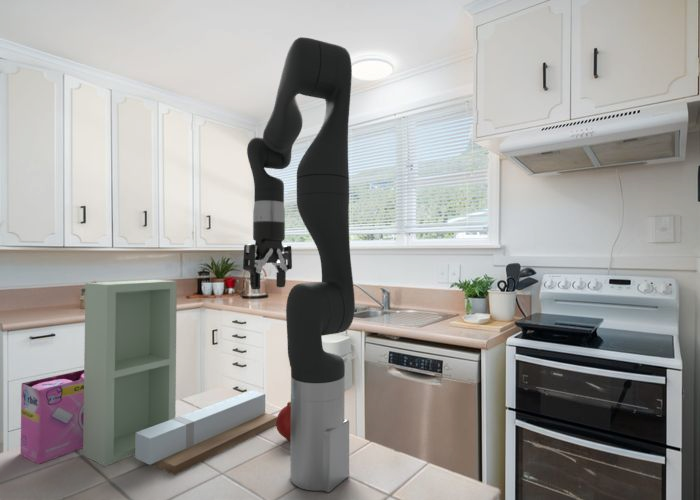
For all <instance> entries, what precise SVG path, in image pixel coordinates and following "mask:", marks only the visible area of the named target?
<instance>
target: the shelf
mask: <svg viewBox="0 0 700 500" xmlns="http://www.w3.org/2000/svg"><path fill="white" fill-rule="evenodd" d="M84 285H85V289H84V290H85V293H84V353H83V354H84V357H83V358H84V359H83V360H84V365H83V366H84V367H83V368H84V369H83V370H84V419H83V448H82V455H83V456H85V457H87V458H89V459H90V460H91V461H93V462H94V461H95V462H96V463H98V464H99V465H102V467H107V466H109V465H113V464H114V463H117V462H119V461H122V460H124V459H126V458H129V457H131V456H135V435H136V432H138V431H141V430H144V429H147V428H149V427H152V426H155V425H158V424H160V423H163V422H166V421H169V420H171V419H173V418H176V406H177V405H176V396H177V395H176V394H177V393H176V390H177V386H176V385H177V383H176V382H177V307H178V306H177V304H178V303H177V301H178V300H177V299H178V297H177V296H178V281H177V280H164V279H163V280H160V279H149V280H147V279H145V280H143V279H141V280H124V281H123V280H122V281H103V282H85V284H84Z"/></svg>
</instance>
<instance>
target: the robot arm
mask: <svg viewBox="0 0 700 500" xmlns="http://www.w3.org/2000/svg"><path fill="white" fill-rule="evenodd" d="M352 67H353V66H352V59H351V56H350V53H349V51H348V50H347V49H346V48H345V47H343V46H341V45H338V44H334V43H331V42H326V41H322V40H319V39H314V38H309V37H302V36H300V37H298V38H296V39H295V40H294V41H293V42H292V44H291V45H290V47H289V49H288V51H287V54H286V57H285V61H284V65H283V68H282V71H281V76H280V79H279V80H280V81H279V85H278V88H277V92H276V97H275V101H274V106H273V109H272V112H271V114H270V117H269V118H268V121H267V123H266V125H265V128H264V130H263V134H262V137H260V136H257V137H255V136H254V137H253V138H251V139H250V140H249V142H248V144H247V148H246V155H247V159H248V164H249V167H250V169H251V173H252V174H251V175H252V178H253V187H254V204H253V211H252V212H253V217H252V219H253V220H252V221H253V222H252V227H253V229H252V231H253V232H252V239H253V240H254V241H255V244H254V243H253V244H252V243H251V244H249V243H247V244H244V245H243V261H242V270H244V271H247V272H249V274H250V276H249V278H250V279H249V281H250V282H249V284H250V285H249V286H250V287H251V289H252V290H260V289H261V273H260V272H261V270H262V269H263V267H264V266H265V265H266V264H272V266H274V267H275V270H276V271H277V272H276V281H275V282H276V287H277V288H285V287H286V283H287V282H286V281H287V280H286V279H287V278H286V277H287V276H286V274H287V272H288V270H292V268H293V260H292V259H293V258H292V256H293V255H292V254H293V253H292V246H291V245H283V241H284V240H285V238H286V237H285V236H286V229H285V228H286V210H285V183H284V181H283V180H282V179H281V178H279V177H276V176H272V175H270V174H269V173H268V172H267V171H266V169H273V170H283V169H286V168H287V167H289V165H290V164H291V161H292V148H293V145H294V144H295V142H296V141H297V138H298V137H299V135H300V133H301V132H302V128H303V124H304V123H303V122H304V121H303V115H302V112H301V109H300V106H299V104H298V102H297V98H296V97H297V95H298V94H299V95H302V96H305V97H311V98H317V99H323V100H324V101H325V115H324V118H323V119H324V120H323V123H322V125H321V127H320V129H319V131H318V133H317V134H316V136H315V138H314V139H313V141H311V144H310V145H309V146H308V148H307V150H306V151H305V153H304V154H303V156H302V157H301V159H300V161H299V163H298V166H297V168H296V169H297V170H296V206H297V211H298V214H299V216H300V219H301V220H302V222H303V224H304V226H305V227H306V230H307V231H308V233H309V236H310V237H311V238H312V240H313V242H314V244H315V246H316V248H317V251H318V256H319V259H320V266H321V281H317V282H316V281H315V282H301V283H297V284H295V285H293V287H292V288H291V289H290V291H289V293H288V296H287V299H286V309H285V314H286V315H285V317H286V336H287V337H286V338H287V341H286V342H287V356H288V361H289V365H290V402H291V441H290V450H289V451H290V453H289V454H290V475H289V476H290V481H291V483H292V484H293V485H295V486H296V487H298V488H300V489H302V490H307V491H313V492H315V491H323V492H327V493H330V492H331V491H332V490H333V489H335V488H336V487H337V486H339V485H340V484H341V483H342V482H343V481H344V480H346V478H348V477H349V476H350V420H349V419H346V418H345V391H346V390H345V385H346V384H345V383H346V382H345V381H346V379H345V378H346V377H345V375H346V374H345V372H346V370H345V368H346V366H345V360H344V358H343V357H342V356H340V355H338V354H335V353H331V352H327V351H325V350H324V348H323V347H324V346H323V339H322V337H323V336H328V335H335V334H340V333H344V332H346V331H347V330H348V329H349V328H350V327H351V325H352V323H353V320H354V317H355V307H356V304H355V302H356V301H355V300H356V299H355V290H354V280H353V278H354V277H353V270H352V261H351V249H350V246H351V245H350V220H349V219H350V215H349V214H350V213H349V211H350V209H349V208H350V207H349V206H350V175H349V173H350V172H349V170H350V169H349V121H350V119H349V117H350V106H351V91H352V77H353V75H352V73H353V71H352V70H353V69H352Z"/></svg>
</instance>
